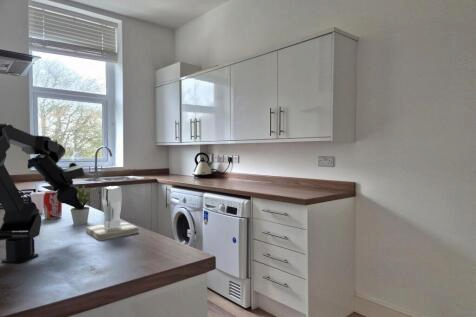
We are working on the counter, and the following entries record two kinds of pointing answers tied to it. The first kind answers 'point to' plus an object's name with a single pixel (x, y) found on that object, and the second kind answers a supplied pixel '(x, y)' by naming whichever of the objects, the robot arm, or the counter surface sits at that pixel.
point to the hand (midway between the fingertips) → (79, 204)
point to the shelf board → (111, 231)
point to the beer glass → (112, 206)
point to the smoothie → (38, 199)
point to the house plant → (82, 215)
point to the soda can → (51, 205)
